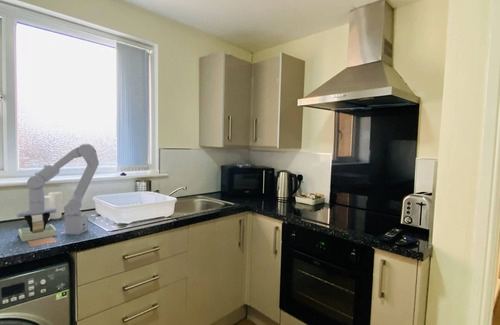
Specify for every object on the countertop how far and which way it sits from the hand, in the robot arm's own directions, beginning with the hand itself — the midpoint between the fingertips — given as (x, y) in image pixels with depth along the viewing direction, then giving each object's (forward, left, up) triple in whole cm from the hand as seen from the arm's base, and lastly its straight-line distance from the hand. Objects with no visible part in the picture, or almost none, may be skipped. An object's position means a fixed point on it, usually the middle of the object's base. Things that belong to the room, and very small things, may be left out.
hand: (37, 230), depth 128 cm
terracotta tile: (-9, +8, -3) cm, 13 cm away
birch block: (0, 0, -2) cm, 2 cm away
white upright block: (+16, -29, -3) cm, 34 cm away
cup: (+17, -20, -3) cm, 27 cm away
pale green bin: (0, 0, -3) cm, 3 cm away
